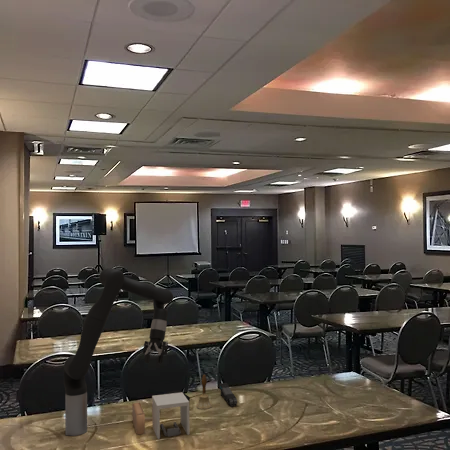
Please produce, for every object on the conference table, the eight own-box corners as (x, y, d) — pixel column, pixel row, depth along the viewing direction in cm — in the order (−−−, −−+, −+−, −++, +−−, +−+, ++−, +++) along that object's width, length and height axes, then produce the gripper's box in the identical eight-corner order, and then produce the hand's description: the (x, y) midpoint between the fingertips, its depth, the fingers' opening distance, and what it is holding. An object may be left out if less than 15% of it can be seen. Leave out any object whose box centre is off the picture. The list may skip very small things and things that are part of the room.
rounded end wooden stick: (145, 434, 210) (145, 415, 210) (137, 435, 208) (136, 416, 209) (140, 419, 227) (139, 402, 227) (132, 420, 226) (132, 403, 226)
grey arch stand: (157, 438, 204) (157, 405, 205) (152, 426, 217) (152, 395, 218) (189, 434, 208) (189, 401, 209) (182, 422, 222) (182, 392, 222)
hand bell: (209, 402, 249) (209, 371, 249) (214, 408, 241) (213, 376, 241) (194, 404, 246) (193, 373, 246) (198, 410, 238) (197, 377, 239)
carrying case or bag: (193, 401, 252) (181, 394, 265) (193, 395, 252) (181, 388, 265) (174, 405, 246) (163, 397, 259) (174, 399, 247) (163, 391, 259)
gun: (225, 393, 263) (227, 377, 260) (236, 417, 245) (238, 401, 242) (217, 394, 261) (219, 378, 258) (228, 418, 243) (229, 402, 240)
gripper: (142, 328, 239) (137, 361, 233) (163, 328, 231) (158, 362, 225) (153, 331, 245) (147, 363, 239) (173, 331, 237) (168, 365, 231)
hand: (153, 363), depth 232 cm, fingers open, 8 cm apart
